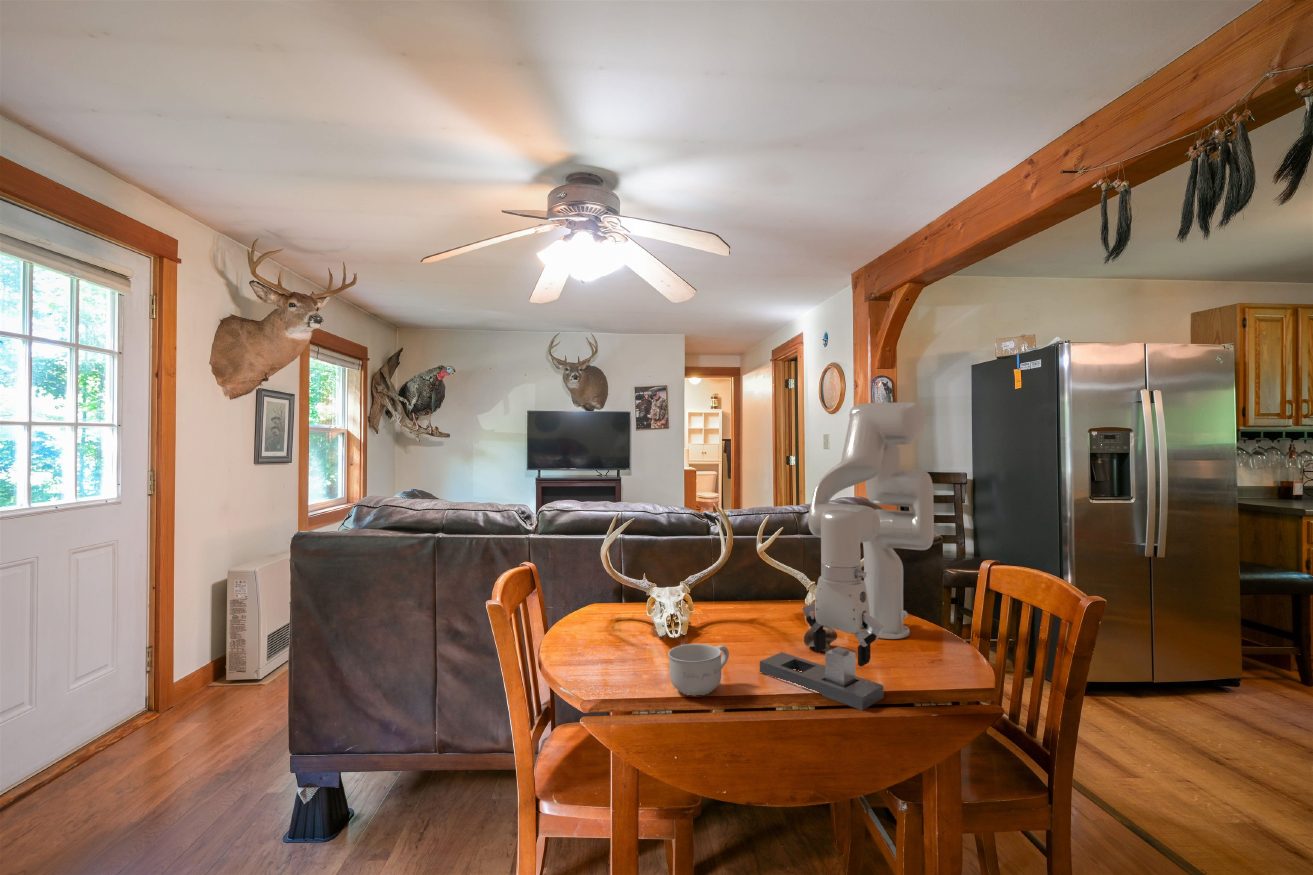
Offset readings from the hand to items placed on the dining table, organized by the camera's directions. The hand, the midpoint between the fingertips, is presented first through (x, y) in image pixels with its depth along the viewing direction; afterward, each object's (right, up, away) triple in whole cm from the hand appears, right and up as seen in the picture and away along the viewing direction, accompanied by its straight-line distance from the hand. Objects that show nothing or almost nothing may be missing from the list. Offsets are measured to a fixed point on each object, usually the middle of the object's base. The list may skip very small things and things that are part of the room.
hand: (841, 657), depth 122 cm
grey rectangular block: (0, -7, 0) cm, 7 cm away
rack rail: (-4, -7, +3) cm, 8 cm away
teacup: (-28, -7, +1) cm, 29 cm away
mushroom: (+2, -7, +23) cm, 24 cm away
